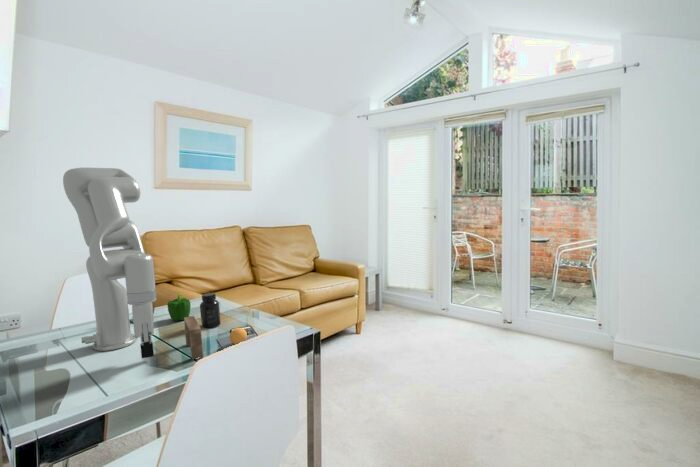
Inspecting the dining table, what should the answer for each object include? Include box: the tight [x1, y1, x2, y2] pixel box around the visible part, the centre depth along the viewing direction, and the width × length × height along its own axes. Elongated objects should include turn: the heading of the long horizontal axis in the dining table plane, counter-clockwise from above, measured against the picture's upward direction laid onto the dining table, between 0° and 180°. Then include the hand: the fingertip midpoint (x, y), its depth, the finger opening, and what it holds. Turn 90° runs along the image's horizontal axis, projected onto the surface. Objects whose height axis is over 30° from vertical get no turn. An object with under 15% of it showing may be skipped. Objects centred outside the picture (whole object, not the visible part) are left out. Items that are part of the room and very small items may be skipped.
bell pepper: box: [167, 293, 191, 322], centre depth 154 cm, size 8×8×10 cm
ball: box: [229, 327, 247, 345], centre depth 126 cm, size 6×6×6 cm
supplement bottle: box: [199, 292, 221, 329], centre depth 146 cm, size 7×7×12 cm
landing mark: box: [216, 335, 256, 350], centre depth 130 cm, size 12×12×1 cm
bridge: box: [183, 315, 204, 361], centre depth 122 cm, size 3×14×9 cm, turn 29°
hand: (147, 356), depth 116 cm, fingers closed
